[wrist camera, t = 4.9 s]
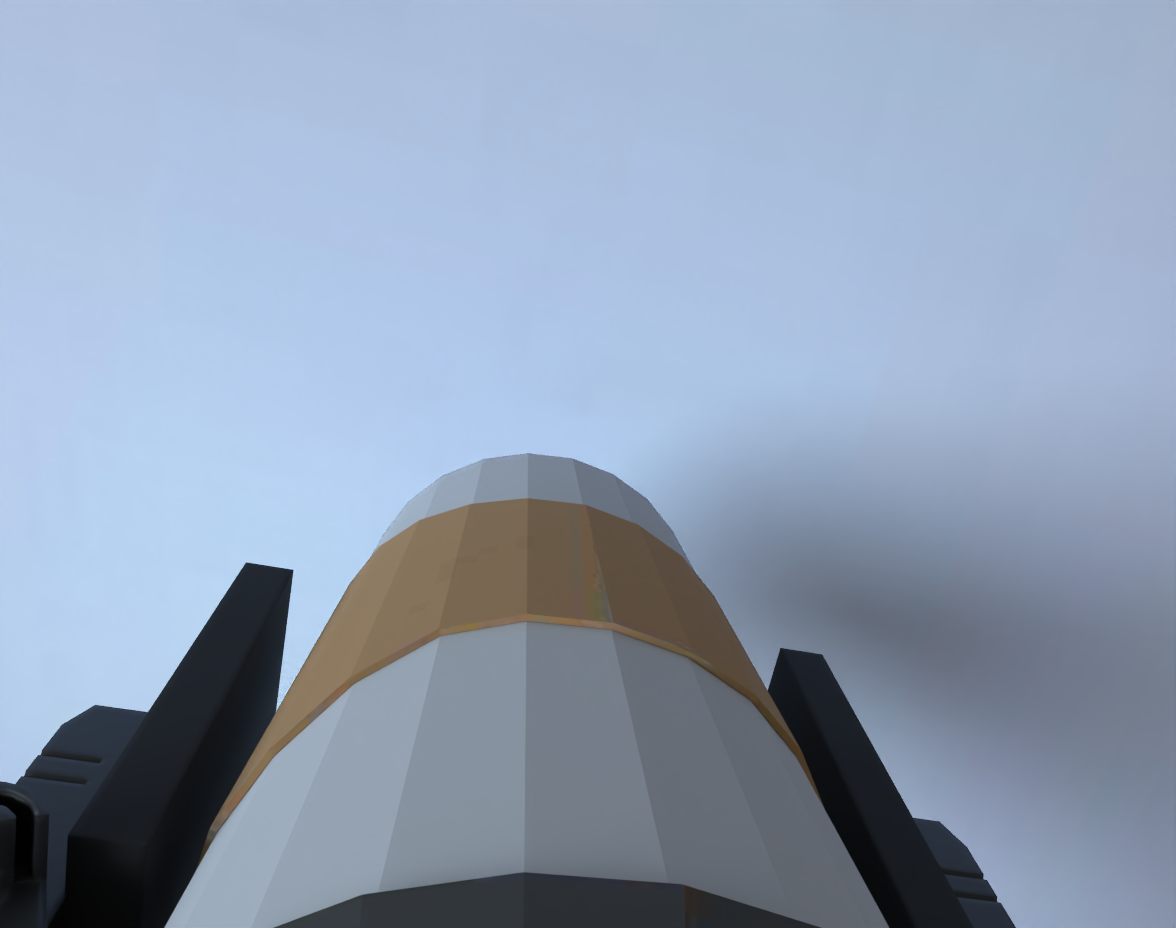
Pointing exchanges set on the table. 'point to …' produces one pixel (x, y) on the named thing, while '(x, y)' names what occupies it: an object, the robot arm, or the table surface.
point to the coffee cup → (526, 739)
